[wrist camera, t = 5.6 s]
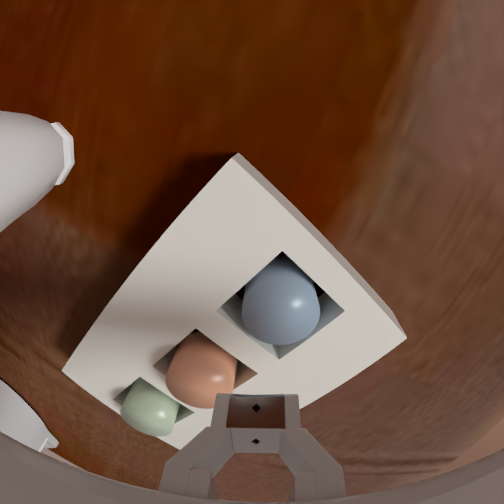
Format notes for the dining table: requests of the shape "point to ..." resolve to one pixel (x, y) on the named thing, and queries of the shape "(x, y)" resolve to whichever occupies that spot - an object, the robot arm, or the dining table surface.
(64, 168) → the cup
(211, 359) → the terracotta button
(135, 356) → the button panel
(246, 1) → the dining table surface
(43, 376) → the dining table surface
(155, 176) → the dining table surface
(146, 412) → the sage button
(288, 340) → the slate button
